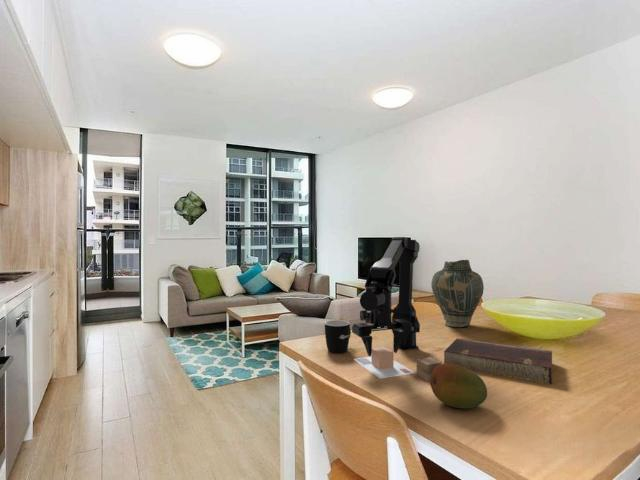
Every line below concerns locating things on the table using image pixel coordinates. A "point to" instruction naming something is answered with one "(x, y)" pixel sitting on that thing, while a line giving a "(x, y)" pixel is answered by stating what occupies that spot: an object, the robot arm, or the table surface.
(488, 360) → the hardback book
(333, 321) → the mug
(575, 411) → the table surface
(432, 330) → the table surface
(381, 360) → the block
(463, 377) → the fruit
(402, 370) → the envelope
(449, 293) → the vase
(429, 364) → the walnut block
